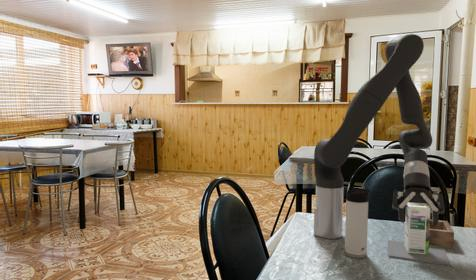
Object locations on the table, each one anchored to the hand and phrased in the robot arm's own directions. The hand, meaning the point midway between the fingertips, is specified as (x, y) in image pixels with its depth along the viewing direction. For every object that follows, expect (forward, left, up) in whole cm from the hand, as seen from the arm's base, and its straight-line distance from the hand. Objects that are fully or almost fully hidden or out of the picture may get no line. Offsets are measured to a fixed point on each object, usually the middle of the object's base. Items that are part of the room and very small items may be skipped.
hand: (418, 223), depth 106 cm
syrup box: (0, +1, -9) cm, 10 cm away
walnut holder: (+5, +15, -10) cm, 19 cm away
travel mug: (-17, -7, -10) cm, 21 cm away
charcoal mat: (0, +1, -10) cm, 10 cm away
